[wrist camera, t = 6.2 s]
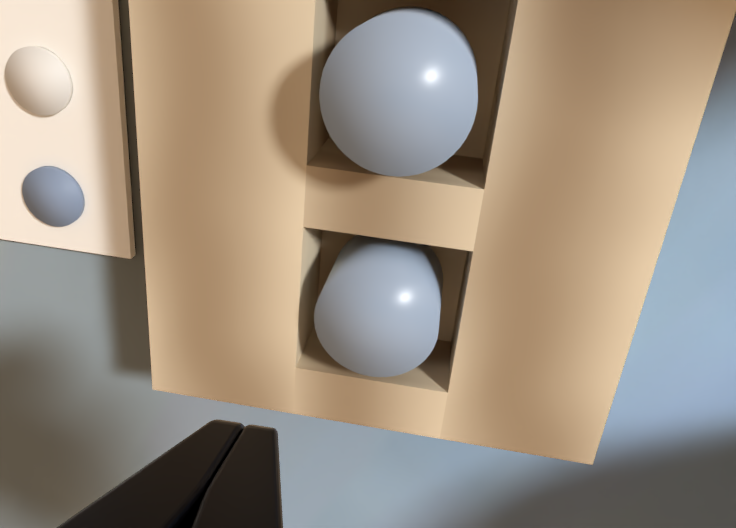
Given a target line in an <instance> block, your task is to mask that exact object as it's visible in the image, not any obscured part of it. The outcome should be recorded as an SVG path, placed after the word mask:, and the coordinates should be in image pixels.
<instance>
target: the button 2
mask: <svg viewBox="0 0 736 528" xmlns="http://www.w3.org/2000/svg"><path fill="white" fill-rule="evenodd" d="M442 289H443V272H442V267H441V264H440V262H439V259H438V257H437V256H436V254H435V253H434V251H433V250H432V248H431V247H430V246H429V245H425V244H418V243H411V242H404V241H397V240H390V239H383V238H377V237H370V236H363V235H356V236H355V237H353V238H352V239H351V240H349V241H348V242H347V243H346V244H345V245H344V247H343V248H342V249H341V251H340V253H339V255H338V257H337V259H336V261H335V263H334V265H333V268H332V270H331V272H330V274H329V276H328V278H327V281H326V283H325V285H324V287H323V289H322V292H321V294H320V296H319V298H318V300H317V303H316V306H315V312H314V324H315V330H316V333H317V336H318V338H319V341H320V343H321V344H322V346H323V348H324V349H325V350H326V352H327V353H328V354H329V355H330V356H331V357H332V358H333V359H334V360H335V361H336V362H338V363H339V364H340V365H342V366H344V367H345V368H347V369H349V370H351V371H353V372H356V373H359V374H362V375H366V376H372V377H391V376H396V375H401V374H403V373H406V372H408V371H410V370H412V369H414V368H416V367H417V366H419V365H420V364H421V363H422V362H423V361H425V360H426V358H427V357H428V356H429V355H430V353H431V352H432V350H433V348H434V346H435V344H436V341H437V338H438V332H439V321H440V311H441V300H442Z"/></svg>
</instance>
